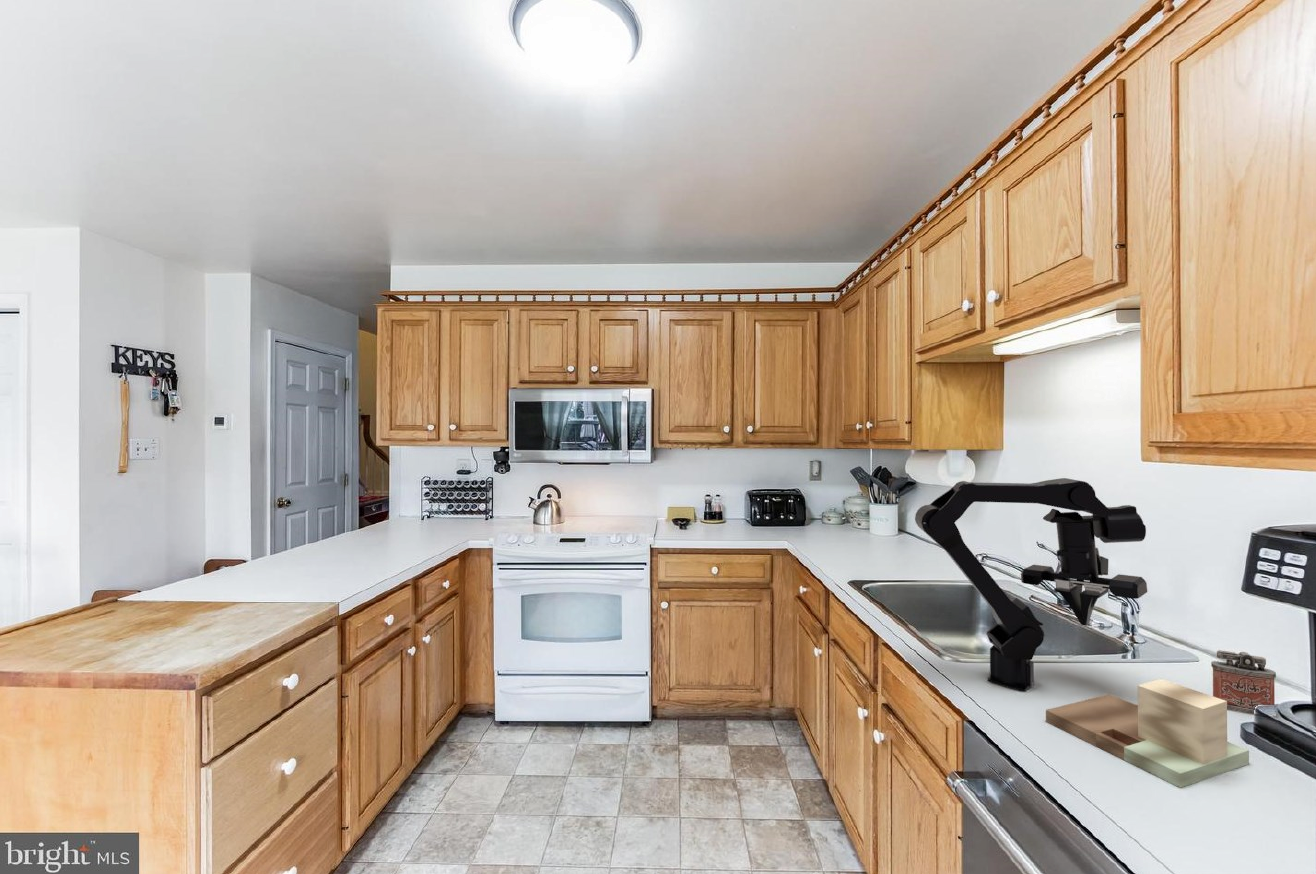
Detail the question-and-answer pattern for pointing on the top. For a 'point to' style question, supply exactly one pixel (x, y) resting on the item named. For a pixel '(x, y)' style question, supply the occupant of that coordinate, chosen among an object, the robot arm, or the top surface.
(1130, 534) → the robot arm
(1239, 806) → the top surface
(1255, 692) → the lighter
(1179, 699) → the maple block
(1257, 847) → the top surface
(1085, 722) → the board
